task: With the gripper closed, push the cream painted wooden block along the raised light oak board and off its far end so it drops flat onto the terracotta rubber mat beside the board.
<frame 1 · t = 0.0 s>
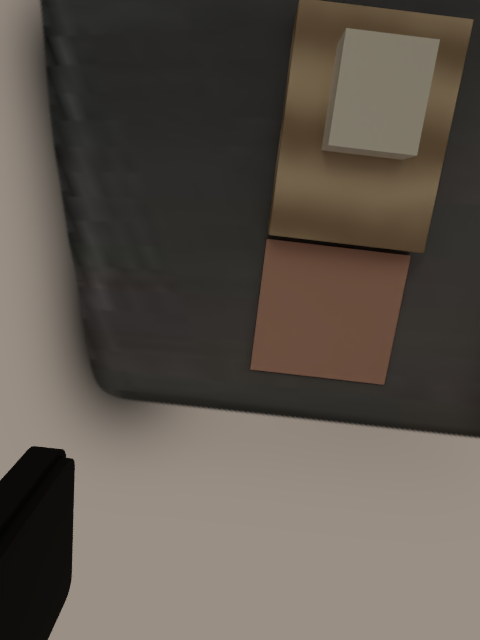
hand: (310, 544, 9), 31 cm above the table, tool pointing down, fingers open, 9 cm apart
cream block: (370, 103, 33), point 3 cm above the table, touching oak board
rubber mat: (327, 313, 39), on the table
oak board: (356, 139, 36), on the table
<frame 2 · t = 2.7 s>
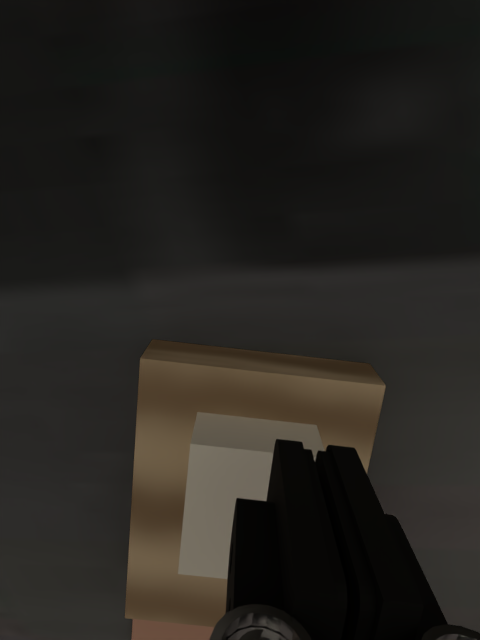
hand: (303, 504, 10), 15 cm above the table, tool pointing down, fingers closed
cream block: (248, 479, 24), point 3 cm above the table, touching oak board
oak board: (244, 477, 27), on the table
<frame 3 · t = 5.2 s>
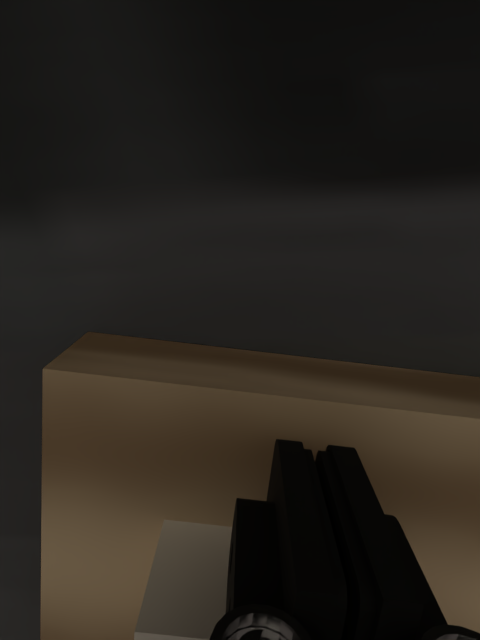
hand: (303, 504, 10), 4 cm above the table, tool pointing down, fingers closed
oak board: (260, 582, 15), on the table
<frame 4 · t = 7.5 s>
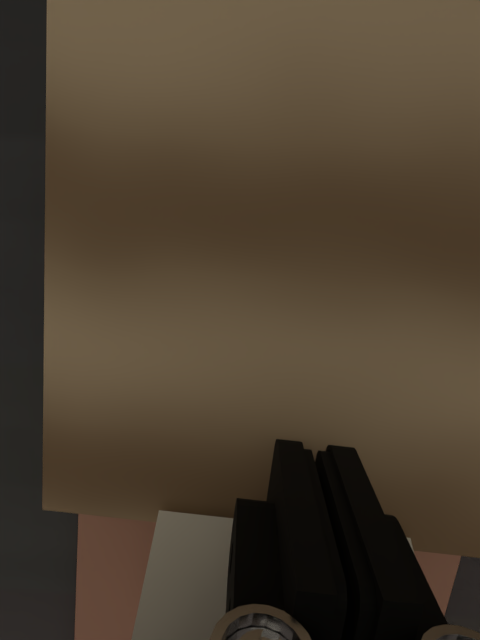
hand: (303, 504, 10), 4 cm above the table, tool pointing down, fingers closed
cream block: (265, 586, 13), point 2 cm above the table, tilted 24°, touching oak board, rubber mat
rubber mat: (254, 629, 16), on the table
oak board: (320, 201, 12), on the table
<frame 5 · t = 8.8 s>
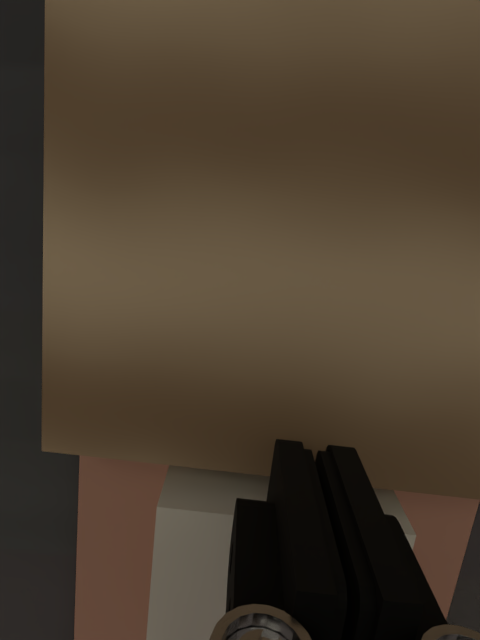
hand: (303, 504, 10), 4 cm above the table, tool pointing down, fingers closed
cream block: (263, 552, 14), resting on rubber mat
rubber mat: (261, 592, 15), on the table
oak board: (331, 134, 12), on the table
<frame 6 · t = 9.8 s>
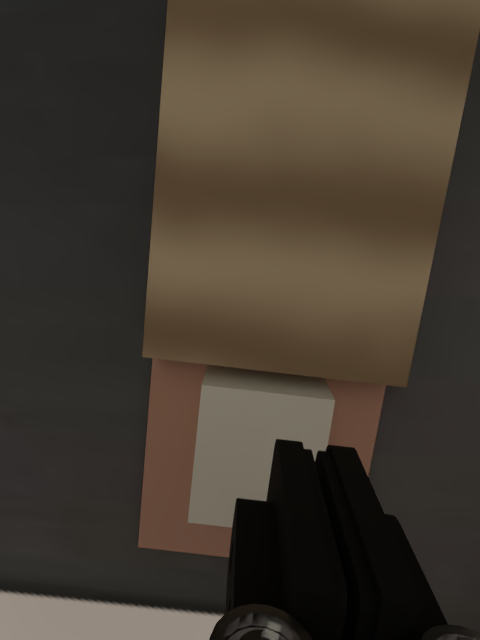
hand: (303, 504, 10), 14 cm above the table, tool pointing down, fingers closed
cream block: (257, 433, 24), resting on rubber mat
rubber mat: (256, 463, 25), on the table
oak board: (292, 193, 22), on the table
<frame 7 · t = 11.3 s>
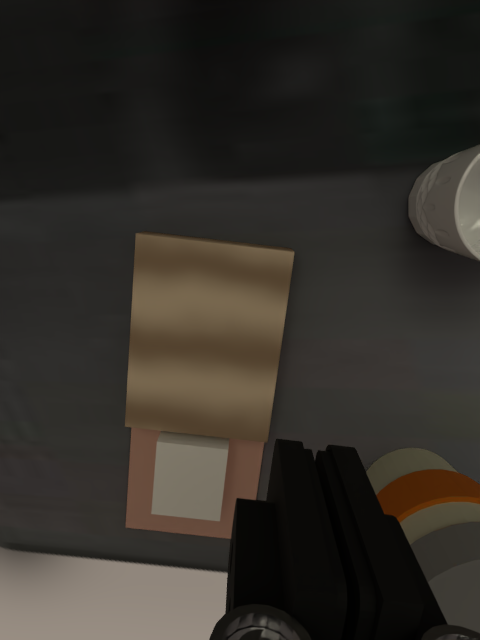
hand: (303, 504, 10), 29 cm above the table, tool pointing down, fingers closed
reusable coffee cup: (407, 489, 43), on the table
cream block: (193, 463, 42), resting on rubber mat
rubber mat: (193, 479, 43), on the table
oak board: (208, 333, 39), on the table
white cup: (448, 202, 36), on the table
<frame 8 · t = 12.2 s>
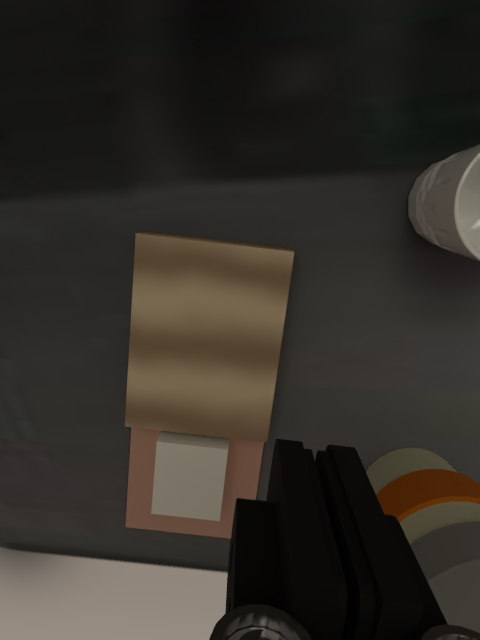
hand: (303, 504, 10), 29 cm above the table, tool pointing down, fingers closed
reusable coffee cup: (406, 489, 43), on the table
cream block: (192, 463, 42), resting on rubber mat
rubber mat: (193, 478, 43), on the table
oak board: (208, 333, 39), on the table
white cup: (448, 202, 36), on the table
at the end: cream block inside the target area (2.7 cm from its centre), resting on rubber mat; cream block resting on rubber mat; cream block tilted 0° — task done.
